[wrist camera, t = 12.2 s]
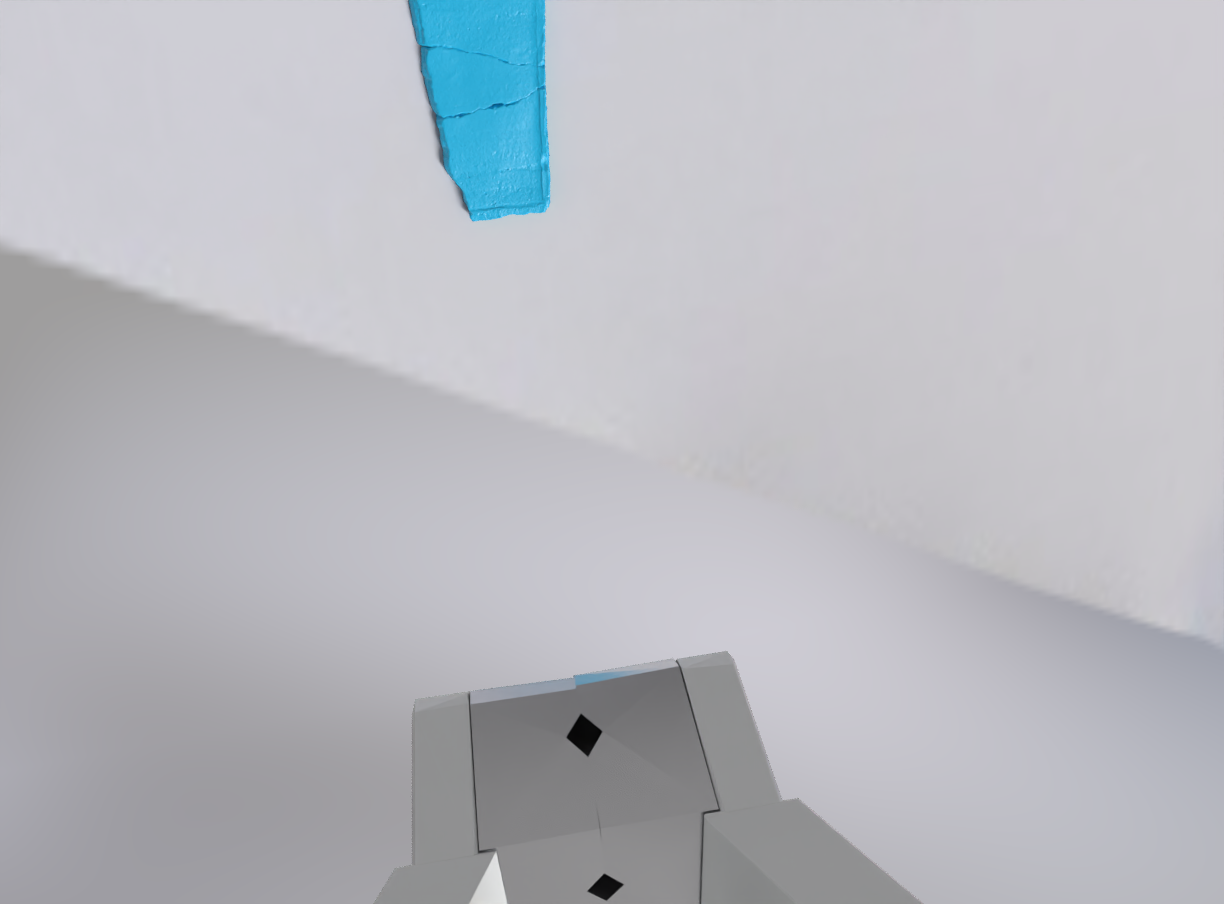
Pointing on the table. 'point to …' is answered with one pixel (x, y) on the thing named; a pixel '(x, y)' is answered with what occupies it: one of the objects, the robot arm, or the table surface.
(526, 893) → the robot arm
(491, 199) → the sponge
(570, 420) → the table surface
